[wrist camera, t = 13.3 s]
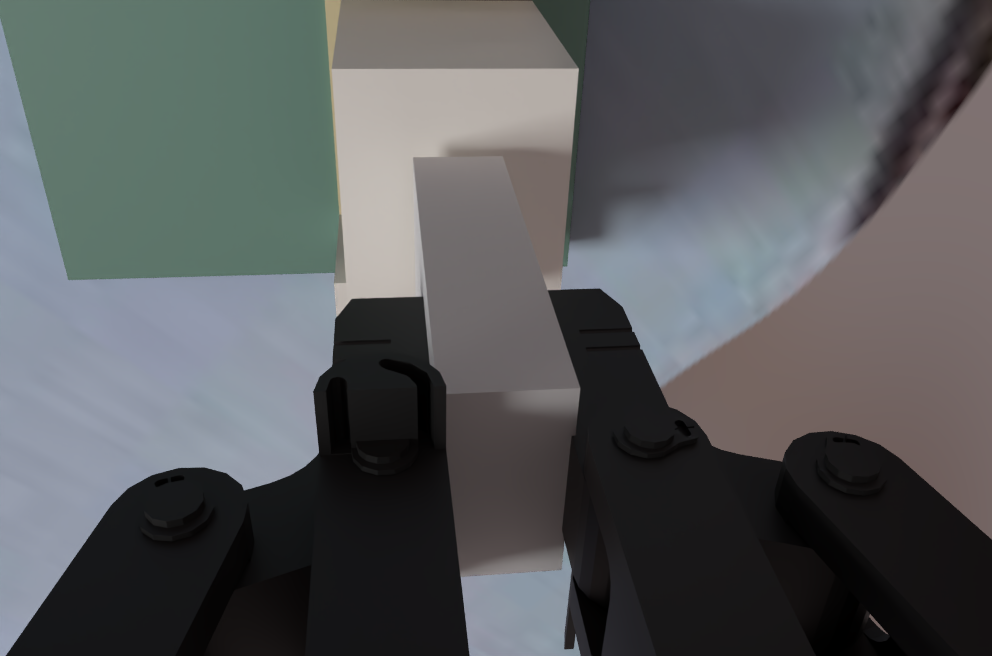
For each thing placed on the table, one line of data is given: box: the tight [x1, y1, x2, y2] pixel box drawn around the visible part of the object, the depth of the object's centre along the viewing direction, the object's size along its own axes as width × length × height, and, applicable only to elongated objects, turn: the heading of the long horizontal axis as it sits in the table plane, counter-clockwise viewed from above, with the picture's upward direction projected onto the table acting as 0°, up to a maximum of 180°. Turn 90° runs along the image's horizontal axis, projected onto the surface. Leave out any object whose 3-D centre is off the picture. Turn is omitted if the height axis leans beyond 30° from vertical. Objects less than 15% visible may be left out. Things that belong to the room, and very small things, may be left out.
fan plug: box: [332, 0, 579, 304], centre depth 19 cm, size 6×4×8 cm, turn 178°
